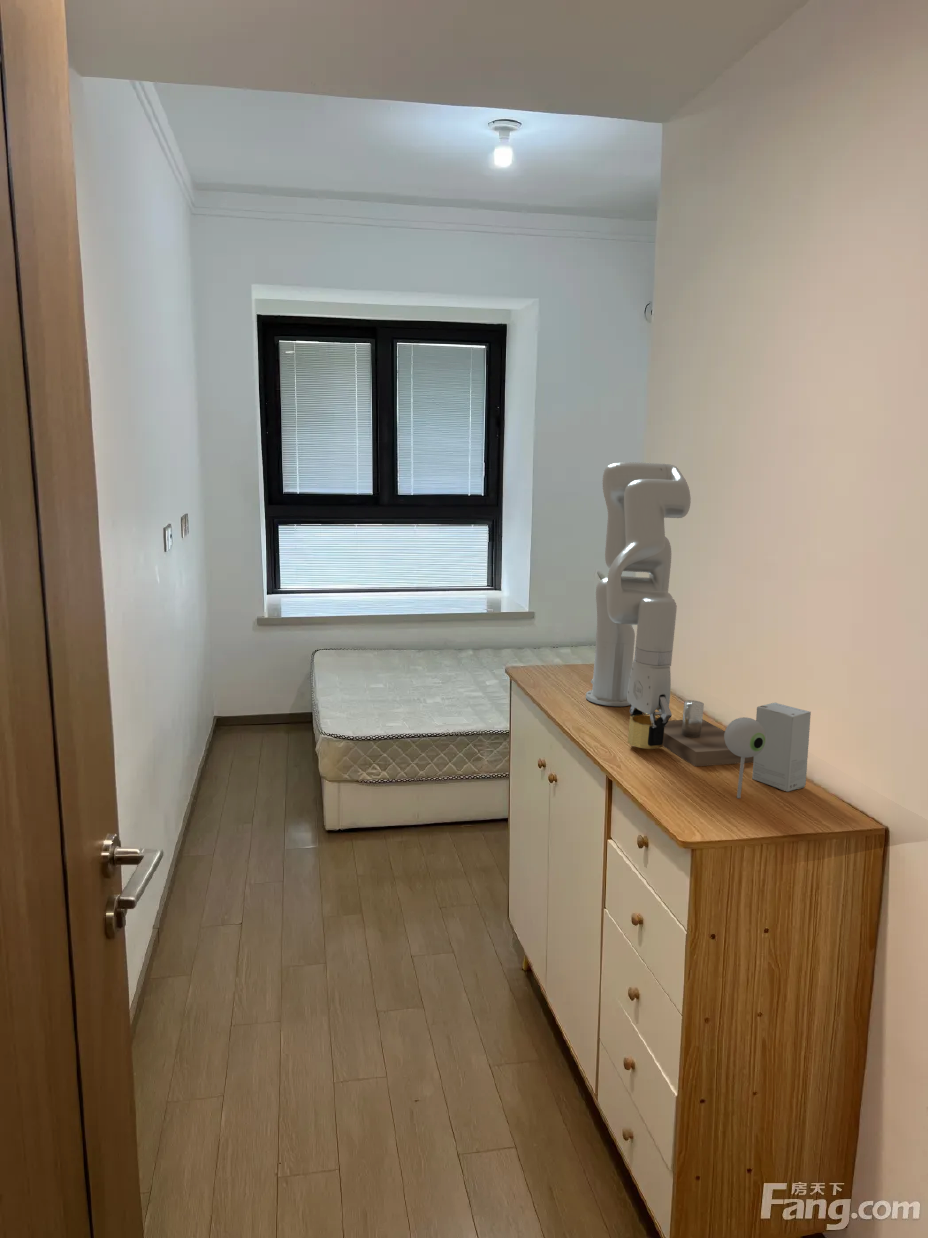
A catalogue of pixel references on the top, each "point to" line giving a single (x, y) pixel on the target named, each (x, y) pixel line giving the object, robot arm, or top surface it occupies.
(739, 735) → the lollipop
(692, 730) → the piston post
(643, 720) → the brass ring
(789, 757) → the skincare box
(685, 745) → the walnut stand
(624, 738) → the top surface
